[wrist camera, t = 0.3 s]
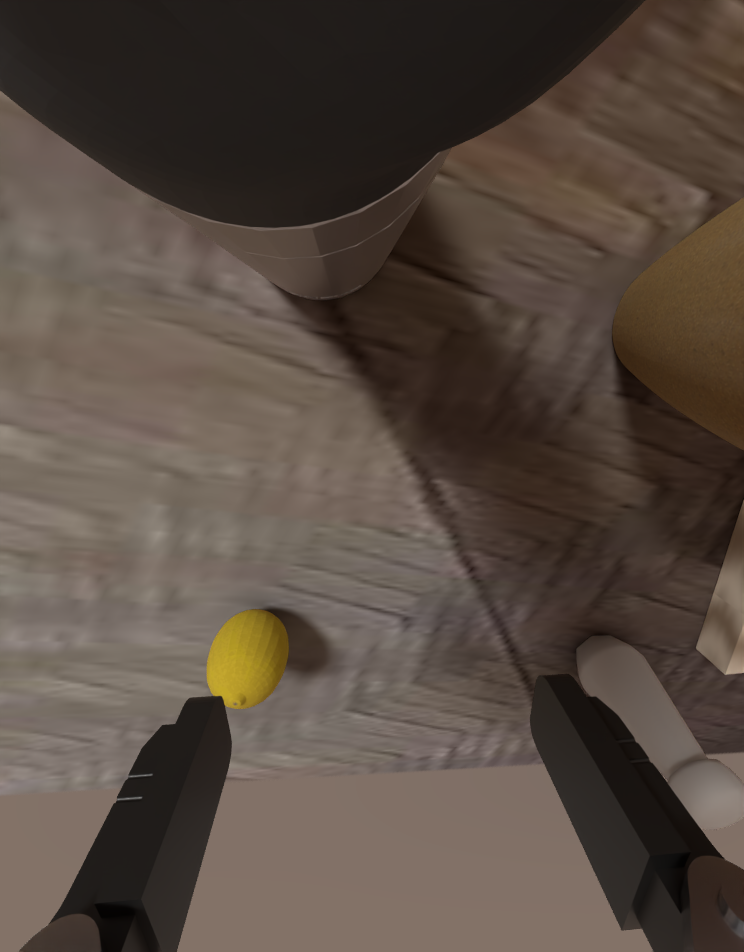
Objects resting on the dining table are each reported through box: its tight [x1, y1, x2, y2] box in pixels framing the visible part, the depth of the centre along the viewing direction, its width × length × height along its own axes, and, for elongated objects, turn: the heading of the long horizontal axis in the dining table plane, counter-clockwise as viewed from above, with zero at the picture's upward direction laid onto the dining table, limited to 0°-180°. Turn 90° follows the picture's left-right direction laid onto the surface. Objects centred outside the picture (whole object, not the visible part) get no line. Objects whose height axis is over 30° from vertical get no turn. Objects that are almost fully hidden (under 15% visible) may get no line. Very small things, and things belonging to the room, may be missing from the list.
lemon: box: [207, 609, 289, 709], centre depth 28 cm, size 6×6×8 cm
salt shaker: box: [576, 635, 744, 830], centre depth 29 cm, size 6×6×13 cm
